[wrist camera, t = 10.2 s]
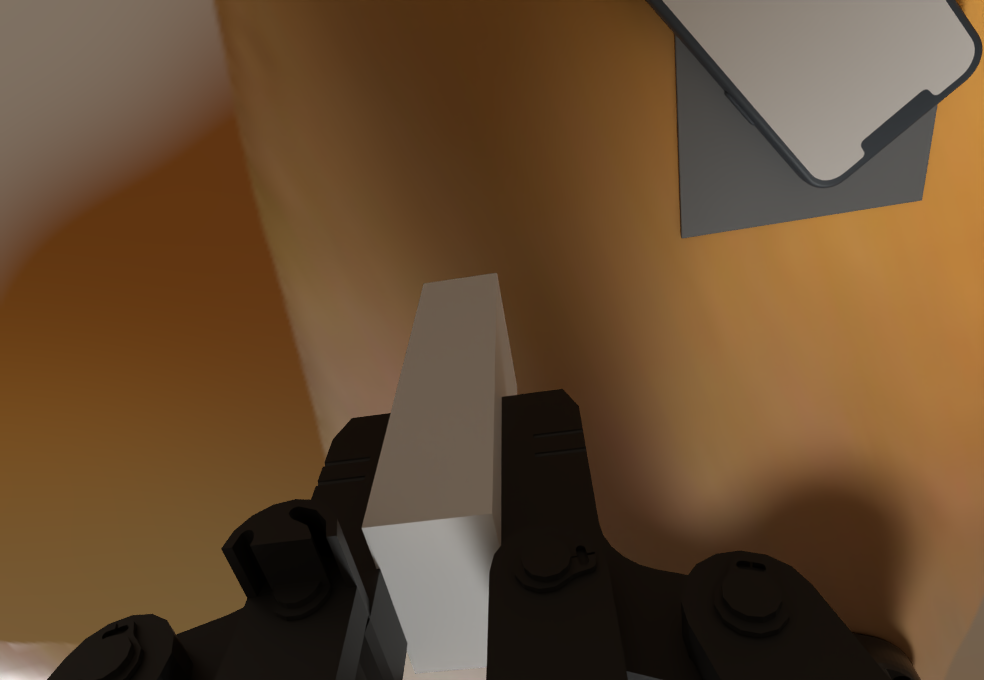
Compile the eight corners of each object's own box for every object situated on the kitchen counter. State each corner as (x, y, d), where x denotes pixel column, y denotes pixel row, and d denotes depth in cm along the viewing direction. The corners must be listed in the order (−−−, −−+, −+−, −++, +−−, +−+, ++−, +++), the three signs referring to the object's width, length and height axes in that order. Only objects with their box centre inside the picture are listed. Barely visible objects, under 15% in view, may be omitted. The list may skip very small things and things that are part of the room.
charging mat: (919, 198, 33) (921, 200, 33) (681, 237, 34) (682, 238, 34) (1000, -303, 23) (1003, -305, 23) (666, -226, 25) (667, -228, 24)
